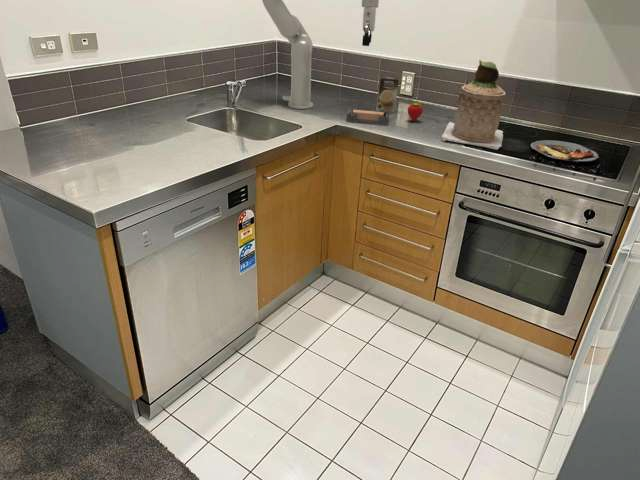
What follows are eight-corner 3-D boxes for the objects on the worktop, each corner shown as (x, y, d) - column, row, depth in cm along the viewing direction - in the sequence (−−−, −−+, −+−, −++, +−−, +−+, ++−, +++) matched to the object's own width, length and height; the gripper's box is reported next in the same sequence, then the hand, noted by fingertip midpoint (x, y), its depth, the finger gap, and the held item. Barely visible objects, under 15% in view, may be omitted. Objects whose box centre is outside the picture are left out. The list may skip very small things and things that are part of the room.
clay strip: (382, 121, 222) (383, 114, 221) (352, 118, 224) (352, 111, 222) (383, 118, 226) (383, 112, 224) (353, 116, 227) (353, 109, 226)
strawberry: (403, 119, 229) (406, 98, 224) (417, 118, 231) (420, 97, 226) (409, 123, 224) (412, 101, 219) (423, 122, 227) (427, 100, 222)
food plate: (610, 163, 189) (613, 154, 187) (560, 168, 183) (563, 159, 181) (564, 143, 210) (567, 136, 208) (518, 147, 204) (520, 139, 202)
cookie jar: (501, 151, 197) (520, 68, 181) (439, 142, 204) (453, 61, 187) (503, 133, 217) (521, 58, 201) (447, 126, 224) (460, 52, 208)
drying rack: (346, 121, 222) (346, 114, 220) (348, 115, 231) (349, 108, 229) (387, 125, 220) (388, 118, 218) (388, 119, 228) (389, 112, 227)
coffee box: (376, 111, 239) (379, 78, 231) (376, 108, 245) (379, 75, 236) (394, 113, 238) (398, 79, 230) (394, 109, 244) (398, 76, 236)
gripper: (377, 5, 210) (373, 47, 219) (379, 2, 225) (376, 42, 234) (359, 4, 211) (356, 46, 220) (363, 1, 226) (360, 41, 235)
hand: (366, 44), depth 227 cm, fingers open, 9 cm apart
